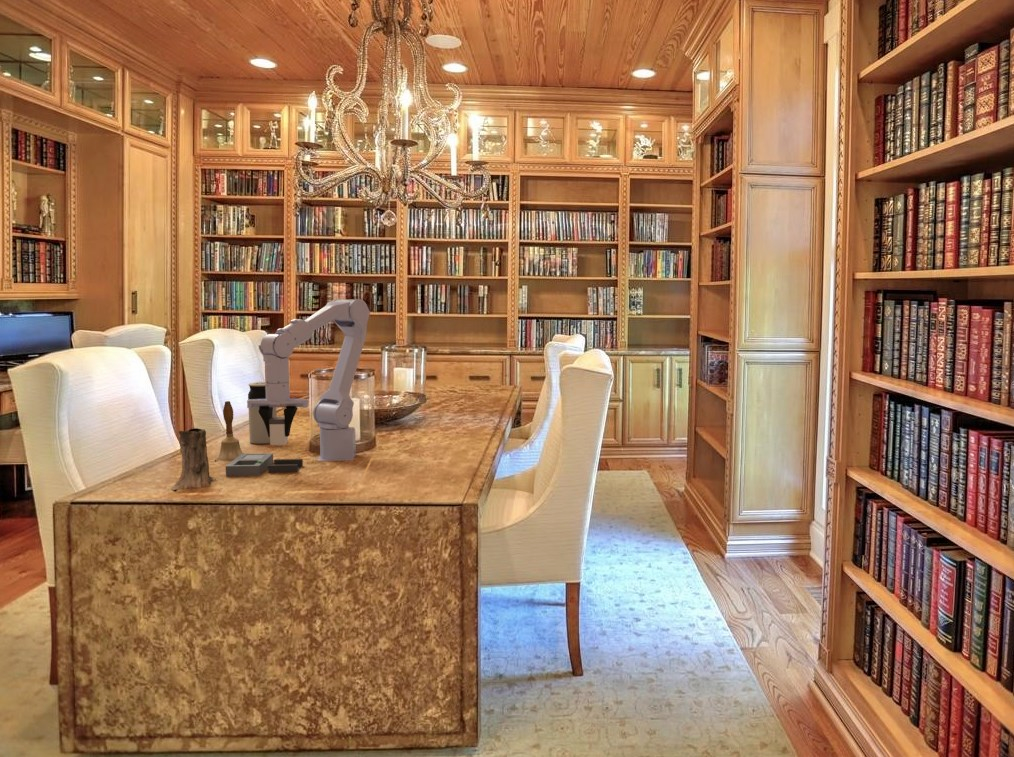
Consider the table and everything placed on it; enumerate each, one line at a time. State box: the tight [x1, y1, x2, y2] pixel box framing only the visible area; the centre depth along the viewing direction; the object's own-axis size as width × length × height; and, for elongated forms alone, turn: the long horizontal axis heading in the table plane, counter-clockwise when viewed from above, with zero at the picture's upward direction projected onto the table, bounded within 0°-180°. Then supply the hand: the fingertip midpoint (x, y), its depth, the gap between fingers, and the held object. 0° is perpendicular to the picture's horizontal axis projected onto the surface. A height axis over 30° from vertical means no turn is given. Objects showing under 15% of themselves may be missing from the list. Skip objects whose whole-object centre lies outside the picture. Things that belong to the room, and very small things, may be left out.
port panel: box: [225, 452, 274, 477], centre depth 183 cm, size 8×14×3 cm, turn 5°
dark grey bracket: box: [267, 458, 304, 474], centre depth 183 cm, size 7×7×2 cm
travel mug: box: [247, 381, 278, 445], centre depth 218 cm, size 8×8×18 cm
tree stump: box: [170, 427, 218, 491], centre depth 168 cm, size 10×10×13 cm
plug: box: [269, 416, 289, 446], centre depth 181 cm, size 4×4×6 cm
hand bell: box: [214, 400, 245, 462], centre depth 195 cm, size 8×8×16 cm
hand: (278, 435), depth 181 cm, fingers closed on plug, 3 cm apart
